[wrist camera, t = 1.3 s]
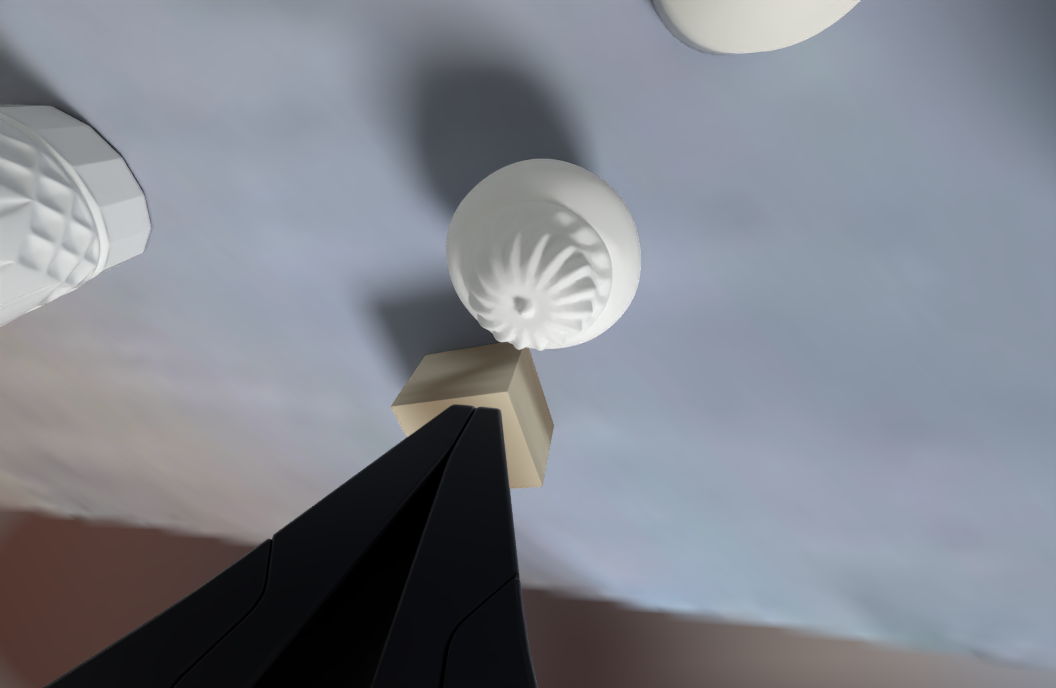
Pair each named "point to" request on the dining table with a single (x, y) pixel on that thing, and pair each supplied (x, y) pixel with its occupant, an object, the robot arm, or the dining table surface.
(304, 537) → the robot arm
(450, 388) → the maple block
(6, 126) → the white cup
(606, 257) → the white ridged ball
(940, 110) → the dining table surface
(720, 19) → the white rounded lump
